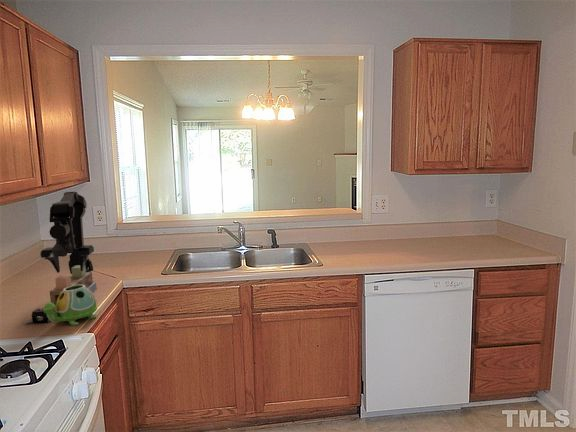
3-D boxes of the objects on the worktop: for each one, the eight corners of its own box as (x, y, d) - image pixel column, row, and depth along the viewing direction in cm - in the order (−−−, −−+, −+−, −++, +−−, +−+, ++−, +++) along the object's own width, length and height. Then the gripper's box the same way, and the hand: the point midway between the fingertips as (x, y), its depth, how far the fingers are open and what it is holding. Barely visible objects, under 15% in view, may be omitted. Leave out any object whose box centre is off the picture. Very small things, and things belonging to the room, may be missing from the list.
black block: (62, 317, 159) (61, 305, 158) (52, 325, 151) (51, 313, 151) (29, 319, 158) (27, 307, 157) (17, 327, 151) (15, 315, 150)
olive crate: (76, 274, 182) (75, 265, 181) (86, 274, 182) (85, 265, 182) (72, 277, 178) (71, 268, 178) (82, 277, 178) (81, 267, 178)
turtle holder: (37, 326, 150) (32, 294, 148) (87, 309, 164) (83, 279, 162) (54, 334, 143) (49, 300, 141) (105, 315, 157) (101, 284, 155)
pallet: (77, 283, 186) (76, 272, 185) (92, 283, 186) (91, 271, 185) (51, 304, 162) (49, 291, 161) (68, 303, 163) (66, 290, 162)
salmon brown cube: (61, 285, 168) (59, 275, 167) (71, 285, 168) (70, 275, 168) (56, 288, 164) (55, 279, 163) (67, 288, 164) (65, 278, 164)
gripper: (30, 240, 162) (36, 279, 164) (81, 237, 163) (86, 276, 166) (44, 233, 173) (50, 271, 175) (92, 231, 174) (96, 268, 177)
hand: (70, 271), depth 173 cm, fingers open, 9 cm apart
